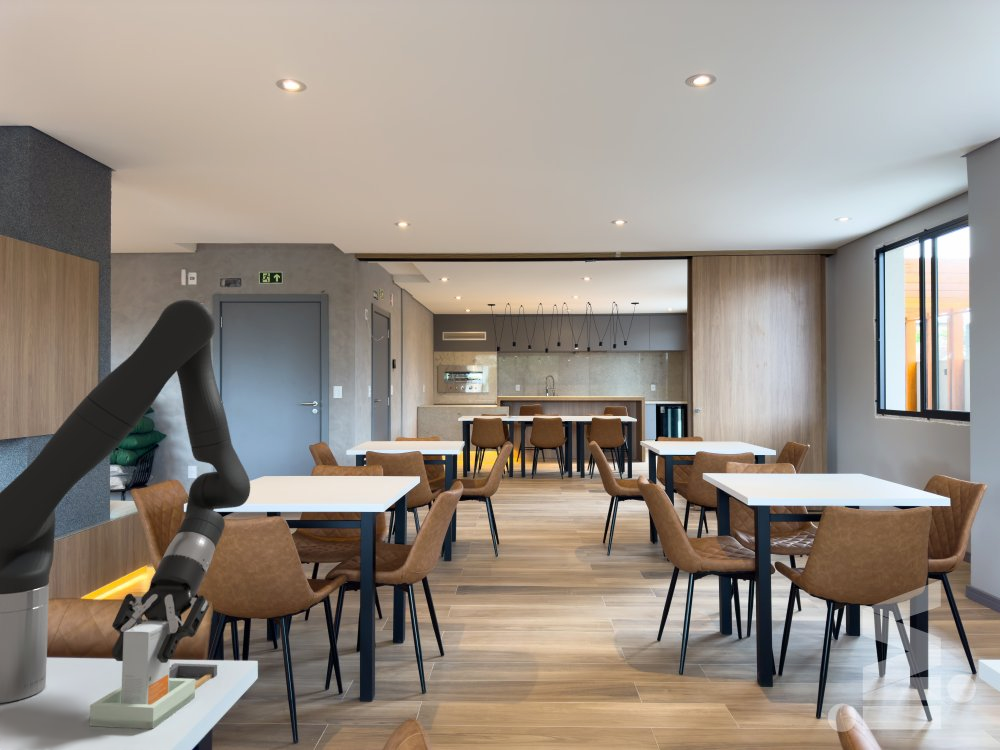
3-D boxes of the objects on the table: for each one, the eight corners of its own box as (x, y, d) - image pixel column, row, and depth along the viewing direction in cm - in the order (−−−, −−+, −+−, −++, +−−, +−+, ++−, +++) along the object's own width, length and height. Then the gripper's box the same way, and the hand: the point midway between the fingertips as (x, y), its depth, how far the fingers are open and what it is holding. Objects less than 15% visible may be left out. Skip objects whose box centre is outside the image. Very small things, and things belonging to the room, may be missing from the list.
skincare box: (146, 713, 103) (147, 632, 103) (119, 712, 103) (121, 631, 104) (170, 697, 109) (172, 620, 109) (145, 695, 109) (147, 619, 110)
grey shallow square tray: (141, 694, 112) (141, 683, 112) (174, 673, 121) (174, 663, 121) (187, 696, 111) (187, 685, 111) (216, 675, 120) (217, 664, 120)
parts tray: (89, 725, 101) (90, 705, 101) (137, 695, 112) (137, 676, 112) (153, 728, 100) (153, 707, 100) (194, 697, 111) (195, 678, 111)
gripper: (135, 552, 115) (83, 646, 103) (216, 553, 114) (173, 649, 101) (154, 576, 120) (107, 669, 108) (231, 578, 119) (192, 672, 106)
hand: (139, 659), depth 105 cm, fingers open, 6 cm apart
